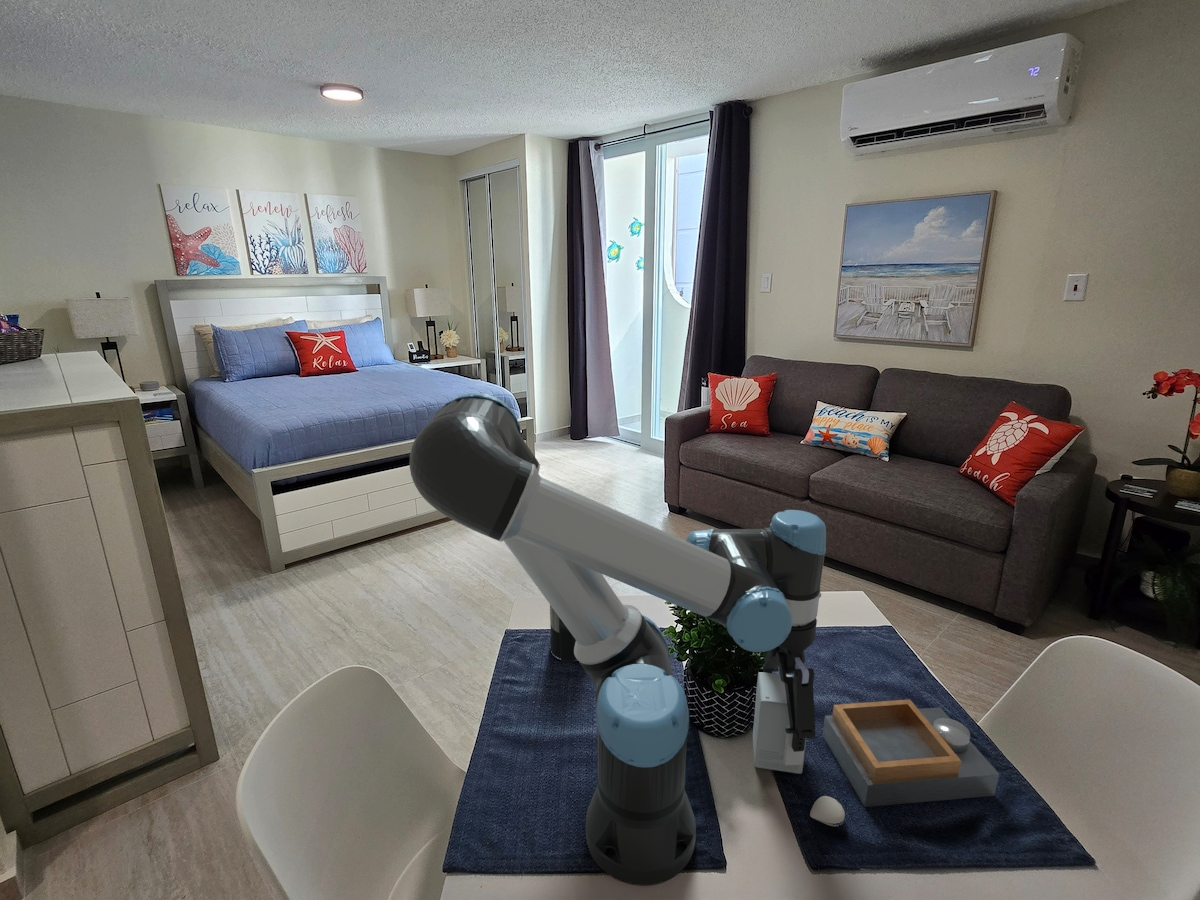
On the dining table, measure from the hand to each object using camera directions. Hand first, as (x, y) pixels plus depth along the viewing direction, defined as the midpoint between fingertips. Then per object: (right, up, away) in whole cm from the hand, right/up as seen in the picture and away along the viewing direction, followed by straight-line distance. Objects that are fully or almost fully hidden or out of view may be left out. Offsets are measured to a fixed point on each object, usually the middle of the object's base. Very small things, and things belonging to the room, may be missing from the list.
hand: (778, 733), depth 98 cm
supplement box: (0, -4, +1) cm, 4 cm away
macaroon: (+4, -8, -10) cm, 13 cm away
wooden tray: (+19, -4, -1) cm, 20 cm away
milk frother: (-30, +4, +27) cm, 40 cm away
